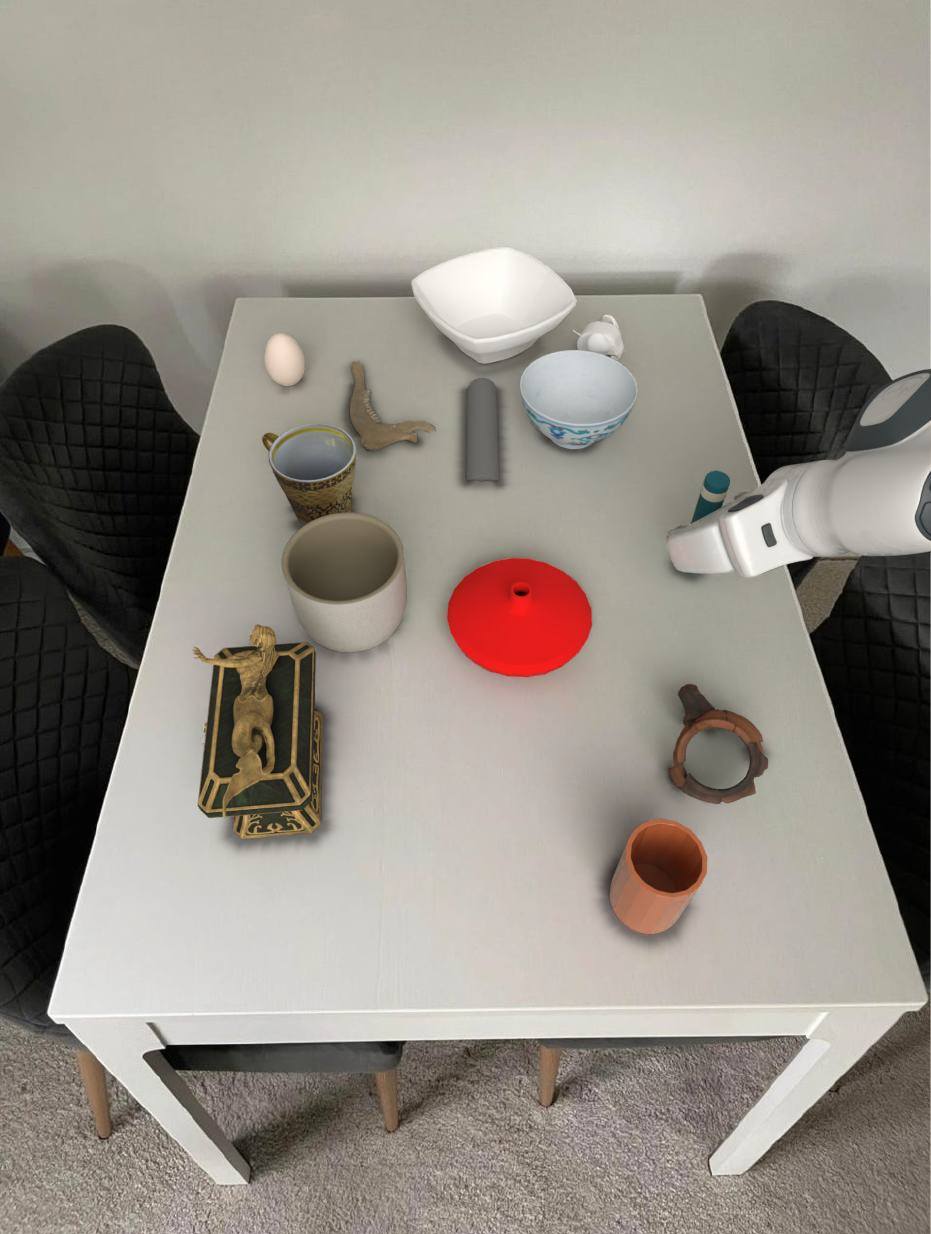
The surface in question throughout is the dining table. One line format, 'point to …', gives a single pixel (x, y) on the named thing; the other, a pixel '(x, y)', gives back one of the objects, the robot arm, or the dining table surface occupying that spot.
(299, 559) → the planter
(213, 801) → the decorative box
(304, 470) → the ceramic cup
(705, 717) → the broken brown pottery vessel
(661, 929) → the tumbler
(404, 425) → the jawbone
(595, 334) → the elephant figurine
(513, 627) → the red disc with nozzle
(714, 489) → the teal banded tube
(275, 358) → the egg
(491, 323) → the bowl
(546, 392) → the chinaware
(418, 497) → the dining table surface
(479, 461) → the half round rod
